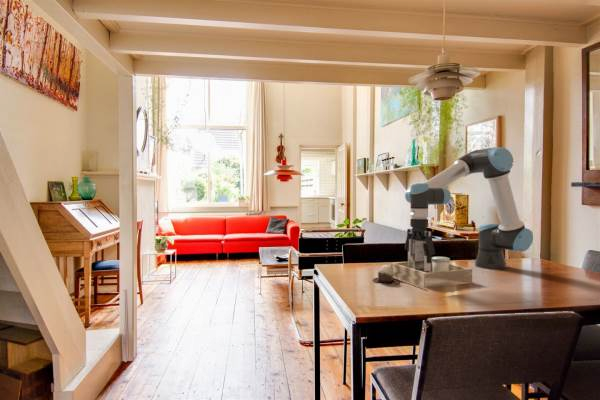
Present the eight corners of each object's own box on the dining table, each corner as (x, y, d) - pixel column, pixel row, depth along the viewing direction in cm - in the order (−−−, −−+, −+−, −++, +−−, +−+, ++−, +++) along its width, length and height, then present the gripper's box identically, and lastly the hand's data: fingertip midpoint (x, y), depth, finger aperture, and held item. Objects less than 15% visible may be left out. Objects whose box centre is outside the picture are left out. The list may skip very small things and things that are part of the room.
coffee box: (429, 278, 159) (429, 240, 159) (414, 278, 159) (414, 240, 159) (422, 273, 168) (422, 238, 168) (408, 273, 168) (408, 238, 168)
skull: (373, 275, 174) (388, 260, 172) (390, 291, 171) (405, 276, 168) (367, 279, 164) (383, 263, 161) (384, 297, 160) (401, 281, 157)
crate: (390, 277, 173) (391, 263, 173) (433, 273, 182) (433, 259, 182) (425, 290, 150) (426, 273, 150) (472, 285, 159) (472, 269, 159)
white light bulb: (428, 276, 170) (428, 257, 170) (441, 275, 173) (441, 256, 173) (439, 280, 163) (439, 260, 163) (453, 278, 166) (453, 258, 166)
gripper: (396, 216, 173) (396, 264, 173) (430, 220, 151) (429, 274, 152) (409, 216, 175) (409, 262, 176) (444, 219, 154) (444, 272, 154)
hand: (418, 268), depth 164 cm, fingers closed on coffee box, 10 cm apart
